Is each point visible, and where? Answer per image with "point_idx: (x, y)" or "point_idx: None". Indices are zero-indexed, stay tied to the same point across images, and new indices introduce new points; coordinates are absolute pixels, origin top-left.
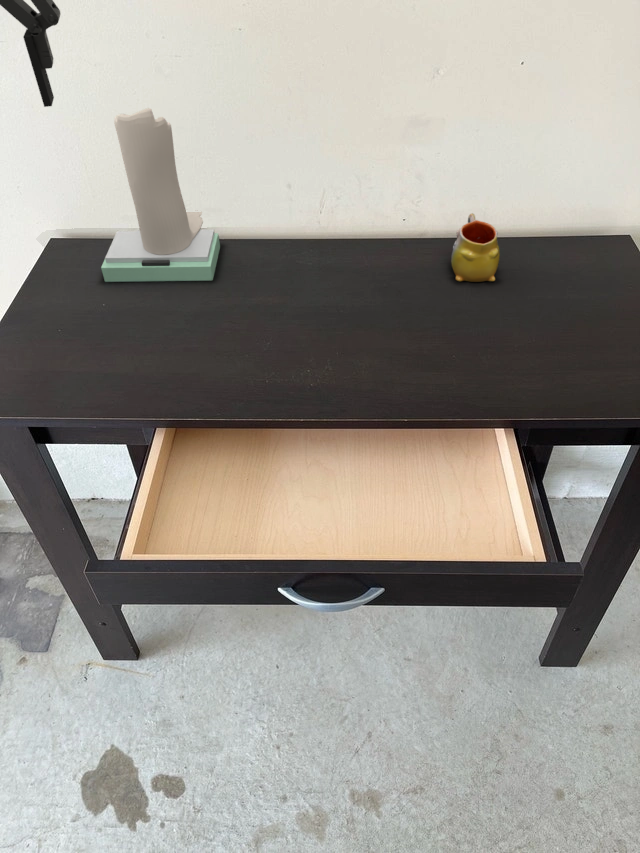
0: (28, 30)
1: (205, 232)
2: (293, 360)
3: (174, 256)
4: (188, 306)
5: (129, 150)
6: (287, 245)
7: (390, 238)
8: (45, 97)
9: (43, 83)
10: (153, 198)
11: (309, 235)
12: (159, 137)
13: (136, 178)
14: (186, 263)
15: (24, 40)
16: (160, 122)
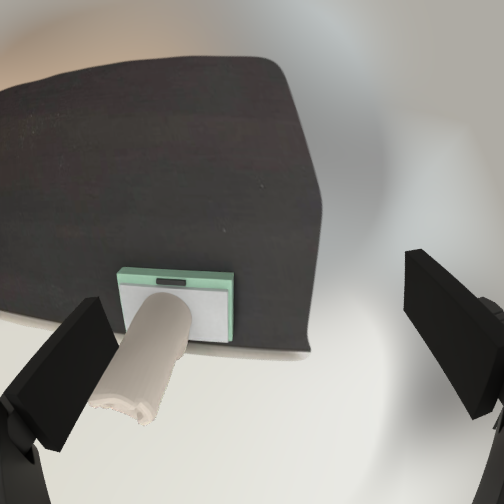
0: (46, 441)
1: None
2: (42, 144)
3: (151, 288)
4: (135, 223)
5: (138, 370)
6: None
7: (13, 313)
8: (82, 307)
9: (64, 324)
10: (140, 328)
11: None
12: None
13: (148, 346)
14: (141, 281)
15: (21, 389)
16: None
